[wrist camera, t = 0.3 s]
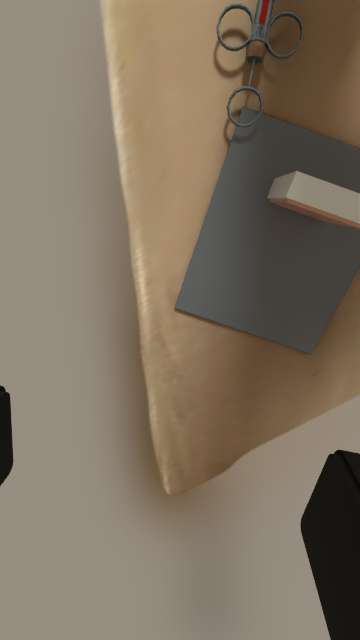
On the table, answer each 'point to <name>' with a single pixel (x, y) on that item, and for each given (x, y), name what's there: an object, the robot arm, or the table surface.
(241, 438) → the table surface
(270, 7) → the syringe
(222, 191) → the mat
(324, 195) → the tile
